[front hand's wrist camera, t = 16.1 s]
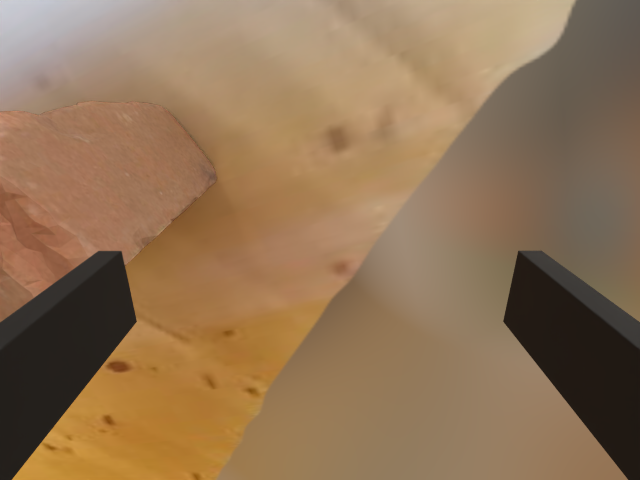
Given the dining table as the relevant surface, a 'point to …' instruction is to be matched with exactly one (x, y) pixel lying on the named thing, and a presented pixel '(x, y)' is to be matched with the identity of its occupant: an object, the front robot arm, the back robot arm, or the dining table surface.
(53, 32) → the dining table surface
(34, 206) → the stone
